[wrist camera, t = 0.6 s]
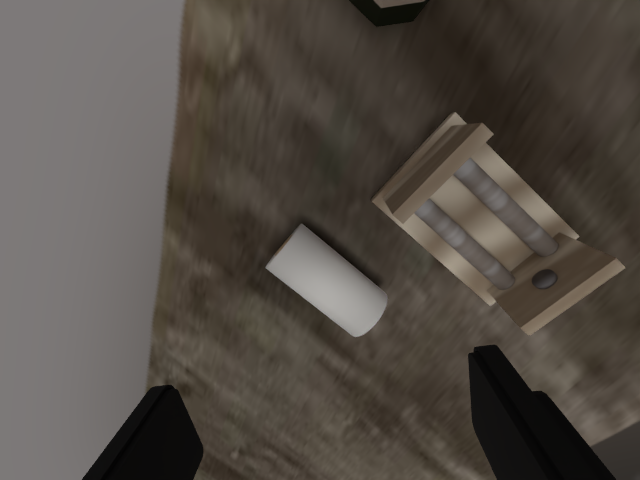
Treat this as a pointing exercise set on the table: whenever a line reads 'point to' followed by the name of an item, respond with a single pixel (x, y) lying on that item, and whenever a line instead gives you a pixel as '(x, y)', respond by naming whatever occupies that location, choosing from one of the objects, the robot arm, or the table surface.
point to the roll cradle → (491, 226)
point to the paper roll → (328, 281)
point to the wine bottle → (389, 10)
